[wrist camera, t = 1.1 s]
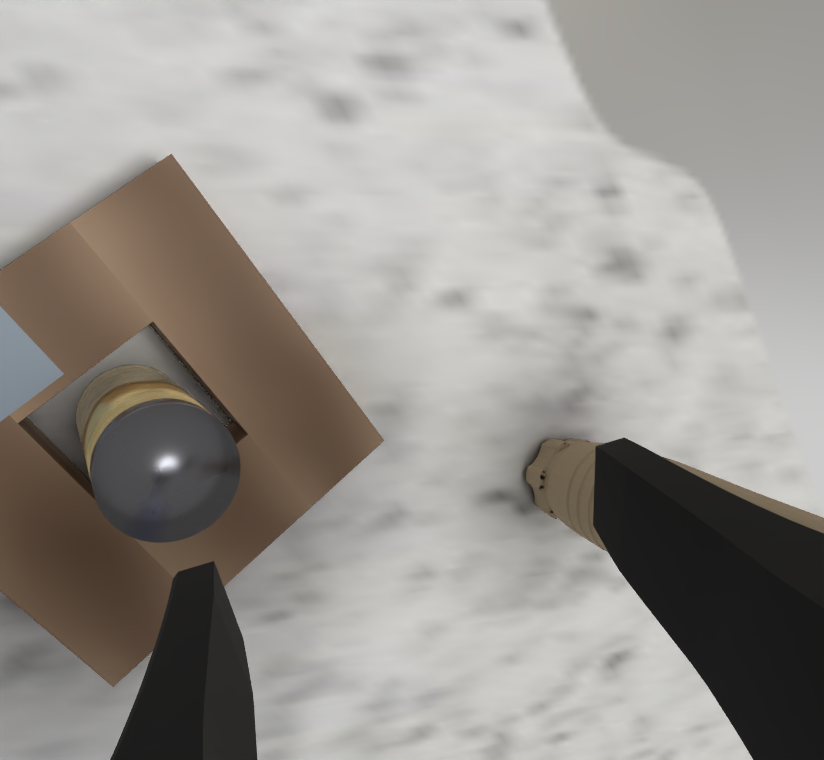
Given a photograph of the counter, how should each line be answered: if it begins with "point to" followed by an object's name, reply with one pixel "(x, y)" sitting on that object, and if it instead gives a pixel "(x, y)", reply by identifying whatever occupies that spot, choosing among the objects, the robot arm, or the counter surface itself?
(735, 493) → the handle
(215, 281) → the mount block
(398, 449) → the counter surface
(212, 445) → the pin
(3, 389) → the socket block
